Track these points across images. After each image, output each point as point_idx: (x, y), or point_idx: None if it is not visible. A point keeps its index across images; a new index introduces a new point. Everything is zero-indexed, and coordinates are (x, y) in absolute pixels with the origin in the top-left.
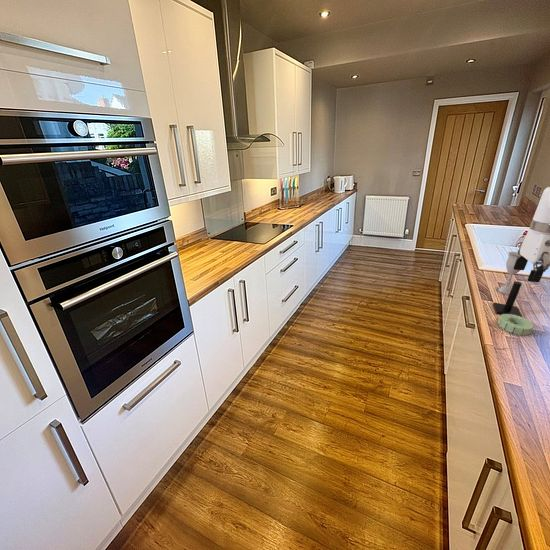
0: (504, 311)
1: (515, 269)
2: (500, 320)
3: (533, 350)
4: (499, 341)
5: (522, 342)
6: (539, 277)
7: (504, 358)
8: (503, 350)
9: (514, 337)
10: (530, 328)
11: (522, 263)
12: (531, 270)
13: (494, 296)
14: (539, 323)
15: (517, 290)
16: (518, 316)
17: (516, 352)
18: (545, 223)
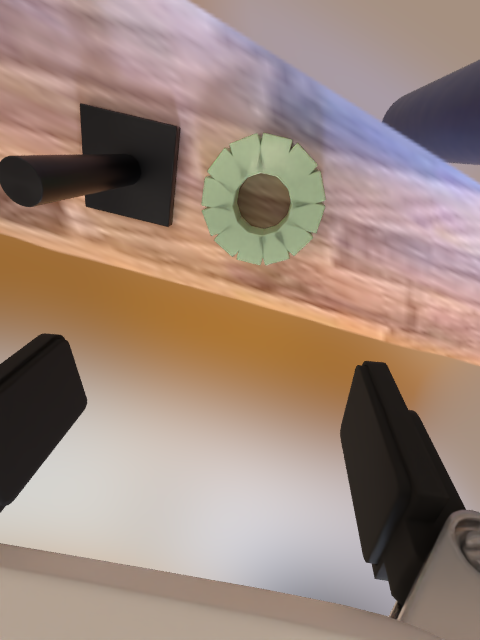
0: (156, 195)
1: (85, 396)
2: (260, 263)
3: (425, 204)
4: (369, 299)
5: (372, 220)
6: (430, 443)
7: (462, 325)
8: (420, 309)
9: (340, 235)
10: (314, 167)
11: (18, 424)
12: (379, 570)
13: None
14: (202, 45)
15: (73, 174)
16: (215, 173)
17: (434, 274)
18: None
